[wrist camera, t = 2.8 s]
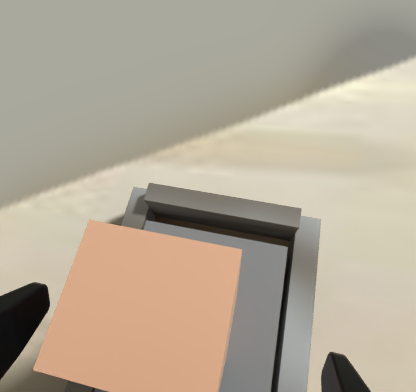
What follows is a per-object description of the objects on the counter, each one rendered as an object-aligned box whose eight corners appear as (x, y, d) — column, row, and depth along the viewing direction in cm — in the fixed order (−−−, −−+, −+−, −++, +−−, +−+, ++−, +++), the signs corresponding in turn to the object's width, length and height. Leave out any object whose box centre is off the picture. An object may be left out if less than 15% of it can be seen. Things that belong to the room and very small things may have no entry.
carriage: (259, 431, 14) (332, 729, 4) (110, 388, 15) (-155, 526, 5) (281, 255, 17) (356, 148, 6) (155, 231, 18) (52, 107, 8)
